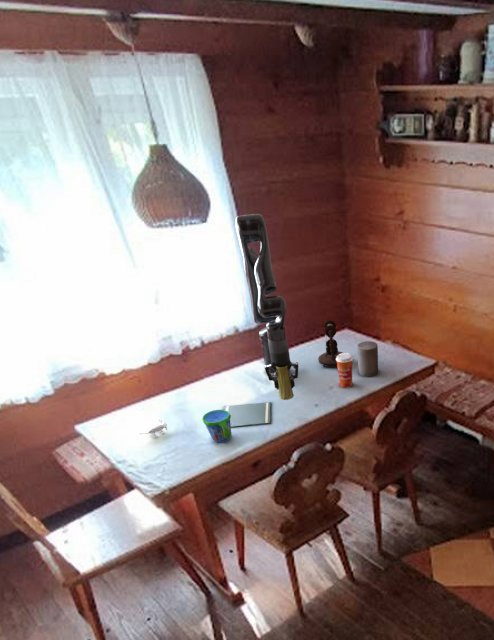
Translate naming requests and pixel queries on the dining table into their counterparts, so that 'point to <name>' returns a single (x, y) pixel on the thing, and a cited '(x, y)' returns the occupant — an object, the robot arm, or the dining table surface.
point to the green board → (249, 414)
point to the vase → (284, 384)
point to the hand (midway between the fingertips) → (285, 387)
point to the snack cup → (218, 425)
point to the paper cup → (345, 369)
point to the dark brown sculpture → (330, 346)
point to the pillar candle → (368, 358)
